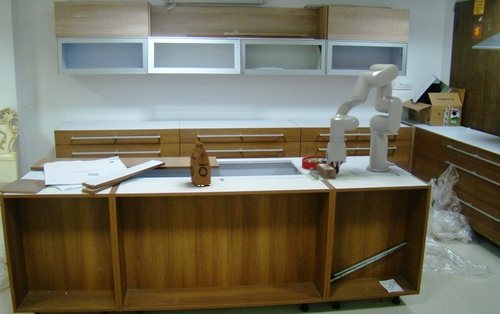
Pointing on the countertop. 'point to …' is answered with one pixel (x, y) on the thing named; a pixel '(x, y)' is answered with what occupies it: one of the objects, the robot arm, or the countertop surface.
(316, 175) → the screw rail
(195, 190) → the countertop surface
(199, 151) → the coffee package
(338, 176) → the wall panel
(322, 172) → the brown rectangular block
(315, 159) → the toy clock
